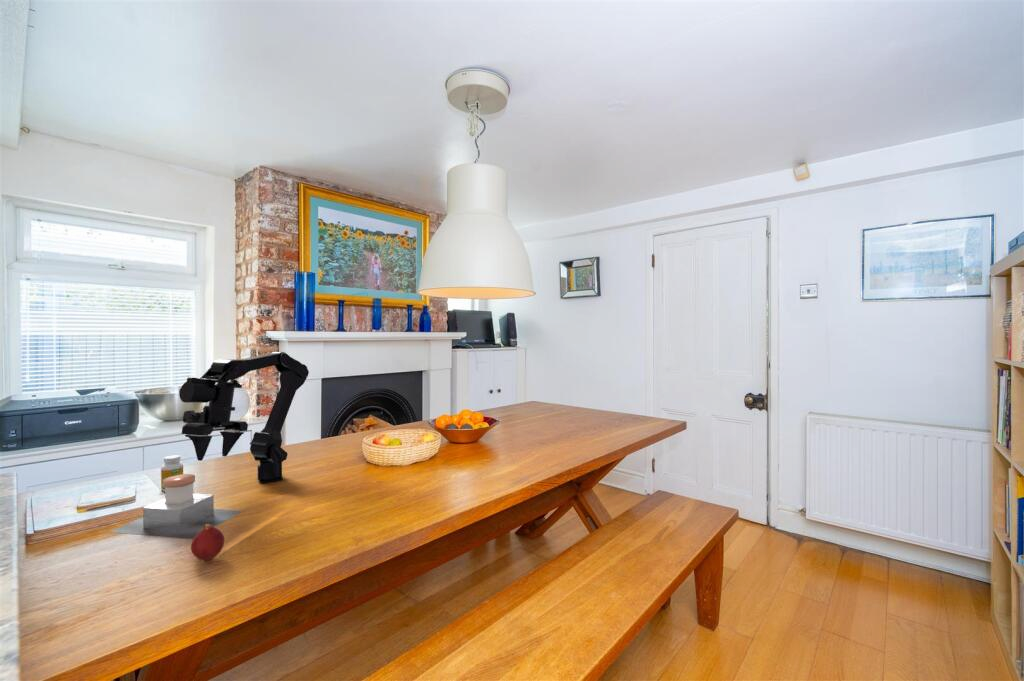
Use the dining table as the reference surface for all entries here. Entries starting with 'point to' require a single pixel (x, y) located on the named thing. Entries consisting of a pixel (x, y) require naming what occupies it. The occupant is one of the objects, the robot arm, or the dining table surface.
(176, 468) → the supplement bottle
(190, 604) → the dining table surface
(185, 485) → the terracotta plug
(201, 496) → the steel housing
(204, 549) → the onion
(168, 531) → the slate board
